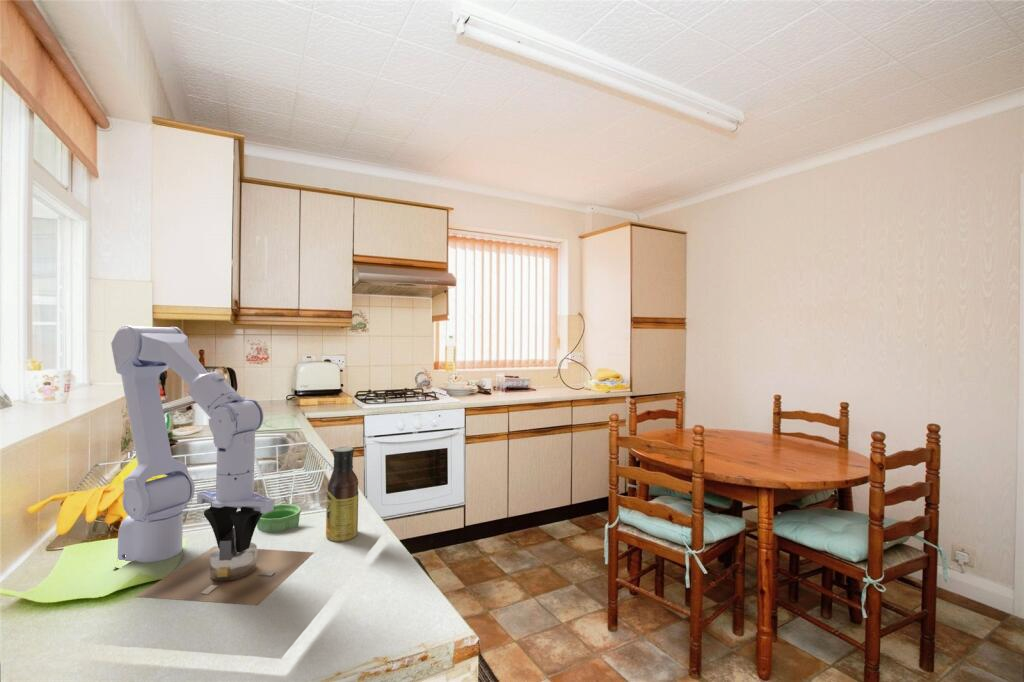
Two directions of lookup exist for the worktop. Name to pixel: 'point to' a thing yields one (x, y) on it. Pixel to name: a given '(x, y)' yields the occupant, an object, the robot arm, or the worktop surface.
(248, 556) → the silver rounded piece
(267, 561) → the baseplate
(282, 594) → the worktop surface
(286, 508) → the ramekin
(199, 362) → the robot arm
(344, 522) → the sauce bottle
